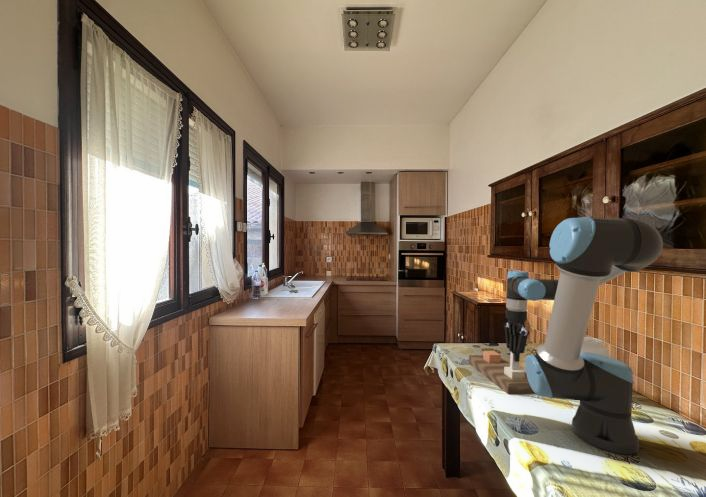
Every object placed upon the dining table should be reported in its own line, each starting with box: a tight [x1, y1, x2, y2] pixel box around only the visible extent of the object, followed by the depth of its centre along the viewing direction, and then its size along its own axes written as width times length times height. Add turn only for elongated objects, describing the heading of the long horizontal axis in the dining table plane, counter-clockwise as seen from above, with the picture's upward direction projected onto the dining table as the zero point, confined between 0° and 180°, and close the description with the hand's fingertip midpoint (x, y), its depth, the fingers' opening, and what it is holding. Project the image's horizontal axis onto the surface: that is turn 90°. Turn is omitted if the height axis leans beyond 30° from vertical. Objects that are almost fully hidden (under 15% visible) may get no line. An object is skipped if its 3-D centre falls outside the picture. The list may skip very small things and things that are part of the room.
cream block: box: [504, 367, 526, 379], centre depth 123 cm, size 5×5×4 cm
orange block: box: [482, 350, 502, 363], centre depth 139 cm, size 5×5×4 cm
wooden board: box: [468, 354, 537, 395], centre depth 131 cm, size 30×14×4 cm, turn 7°
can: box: [580, 336, 611, 358], centre depth 122 cm, size 12×12×20 cm
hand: (514, 368), depth 123 cm, fingers closed
